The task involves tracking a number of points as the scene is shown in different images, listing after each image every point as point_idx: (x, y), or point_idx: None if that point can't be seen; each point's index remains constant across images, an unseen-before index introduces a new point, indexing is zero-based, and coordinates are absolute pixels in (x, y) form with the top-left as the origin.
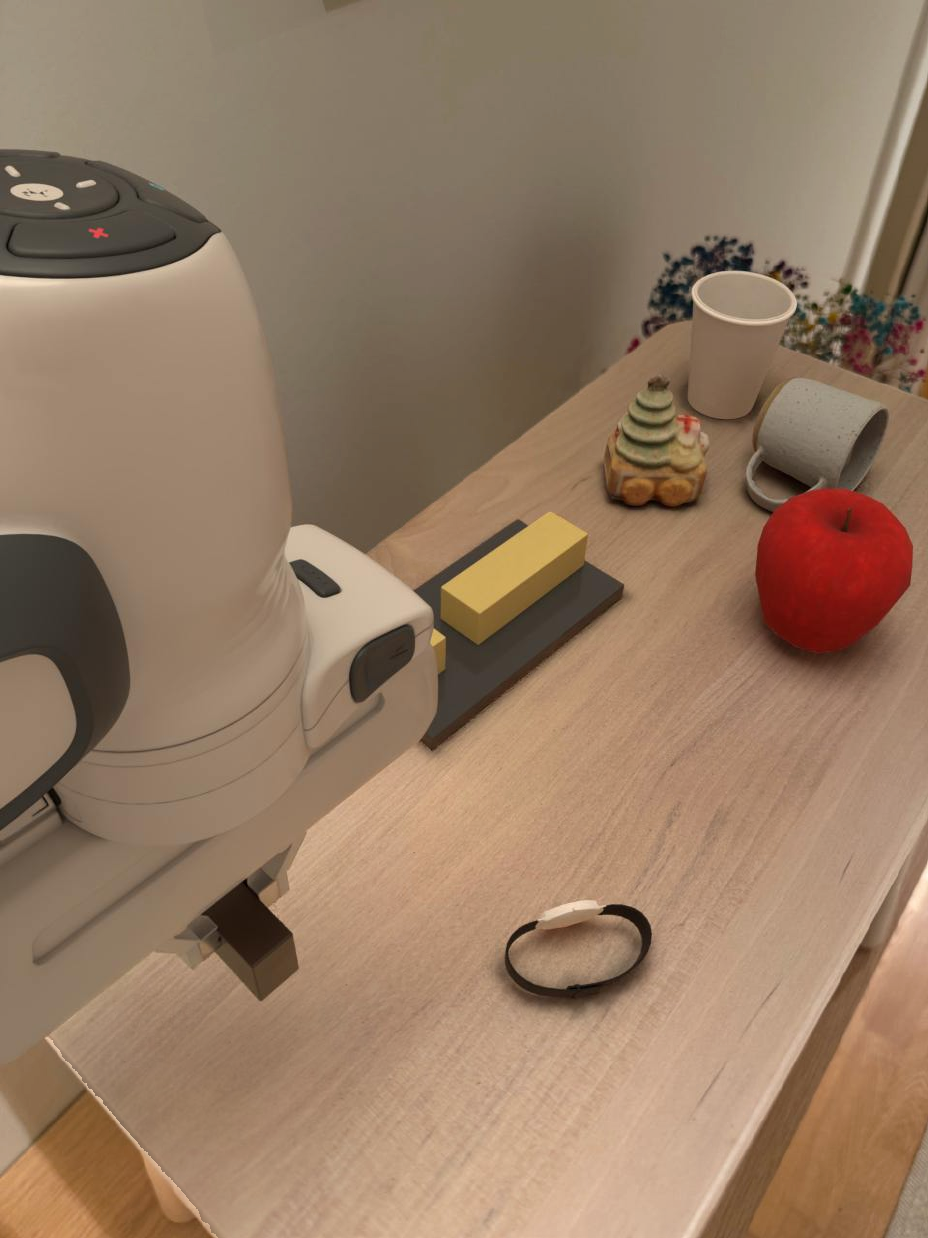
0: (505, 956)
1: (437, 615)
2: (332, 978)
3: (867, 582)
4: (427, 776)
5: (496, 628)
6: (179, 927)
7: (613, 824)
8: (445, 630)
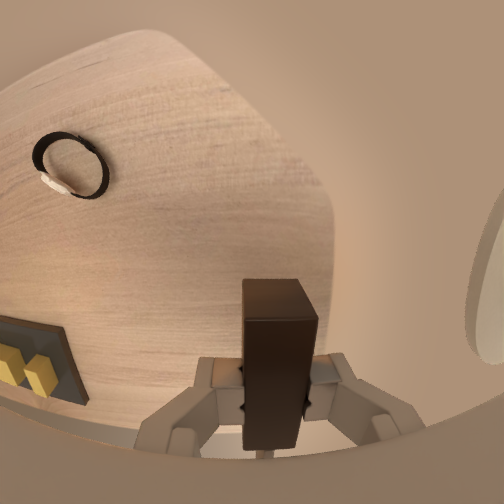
0: (100, 191)
1: None
2: (191, 265)
3: None
4: (72, 318)
5: (8, 347)
6: (426, 440)
7: (17, 216)
8: None
